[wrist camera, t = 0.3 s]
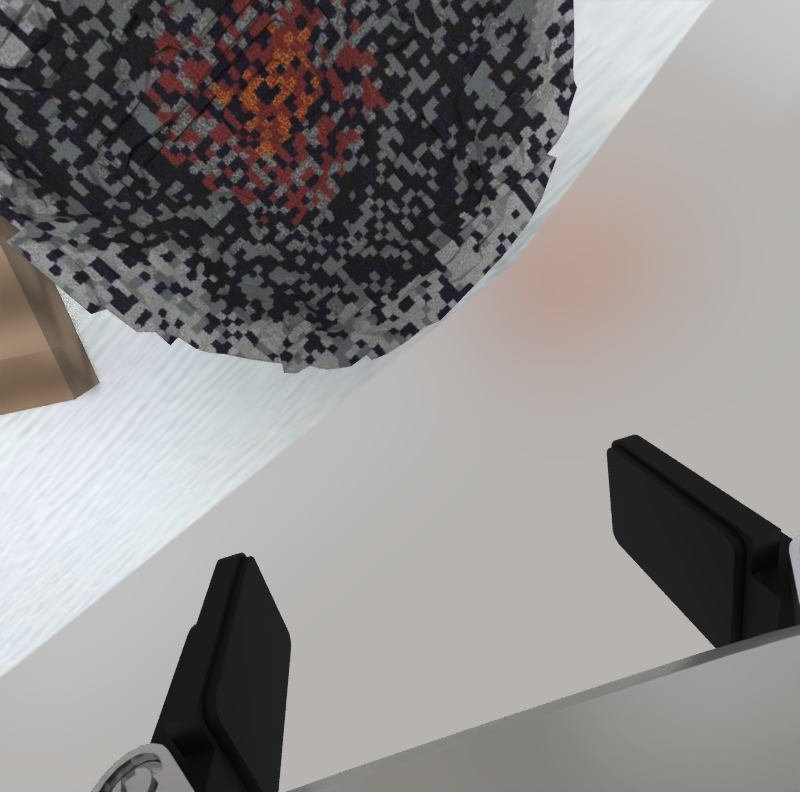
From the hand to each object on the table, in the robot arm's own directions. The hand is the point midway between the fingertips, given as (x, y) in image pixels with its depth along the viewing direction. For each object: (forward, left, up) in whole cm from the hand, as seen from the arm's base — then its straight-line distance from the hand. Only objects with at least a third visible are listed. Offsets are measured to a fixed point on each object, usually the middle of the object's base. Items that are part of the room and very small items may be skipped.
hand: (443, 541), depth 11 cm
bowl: (-16, -2, -31) cm, 35 cm away
